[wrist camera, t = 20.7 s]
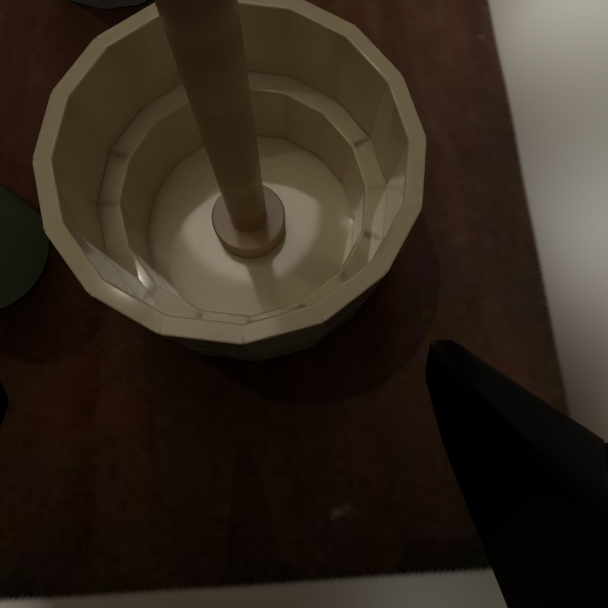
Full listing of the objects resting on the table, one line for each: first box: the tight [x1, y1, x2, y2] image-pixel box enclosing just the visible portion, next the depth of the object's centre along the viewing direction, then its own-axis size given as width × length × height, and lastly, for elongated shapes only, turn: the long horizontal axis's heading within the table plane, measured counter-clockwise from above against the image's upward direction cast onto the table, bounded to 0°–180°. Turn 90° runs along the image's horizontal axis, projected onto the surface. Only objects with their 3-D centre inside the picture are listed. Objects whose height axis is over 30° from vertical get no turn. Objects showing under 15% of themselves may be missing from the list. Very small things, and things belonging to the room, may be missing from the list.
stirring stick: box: [154, 0, 285, 258], centre depth 11 cm, size 3×3×17 cm
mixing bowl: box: [33, 0, 426, 362], centre depth 17 cm, size 12×12×7 cm
